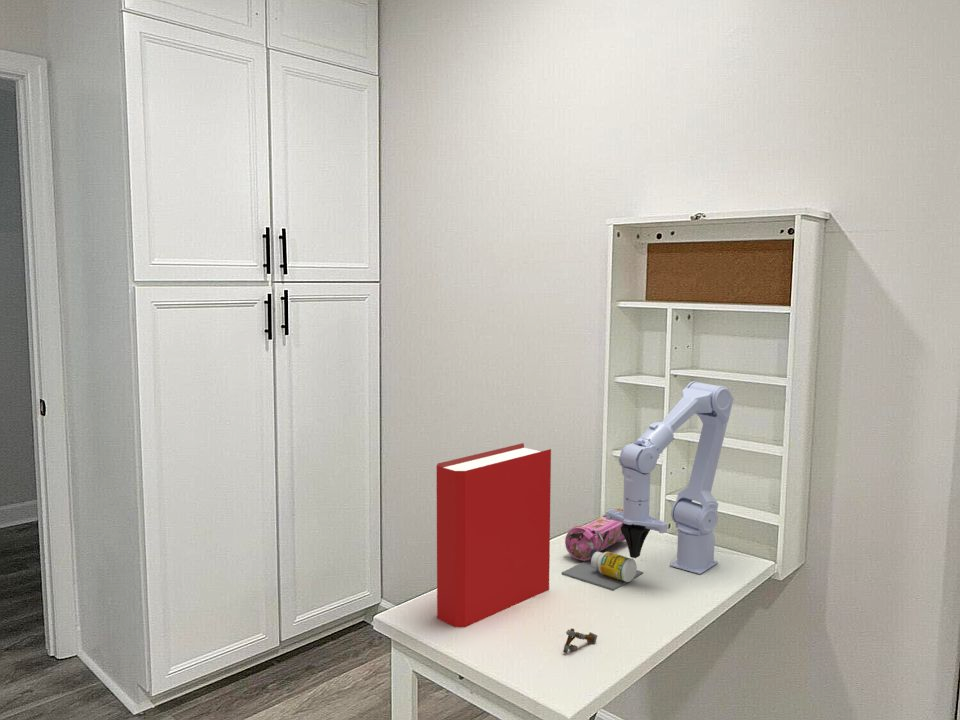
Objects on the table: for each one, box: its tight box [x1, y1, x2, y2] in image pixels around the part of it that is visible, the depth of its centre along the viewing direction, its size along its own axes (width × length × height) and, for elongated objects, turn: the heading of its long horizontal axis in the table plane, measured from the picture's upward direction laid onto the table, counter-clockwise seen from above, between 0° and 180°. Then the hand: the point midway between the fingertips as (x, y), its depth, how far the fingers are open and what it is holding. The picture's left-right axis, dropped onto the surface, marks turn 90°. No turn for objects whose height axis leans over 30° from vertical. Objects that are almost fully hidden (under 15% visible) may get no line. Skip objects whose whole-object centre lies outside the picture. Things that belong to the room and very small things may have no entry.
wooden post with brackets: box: [562, 628, 599, 654], centre depth 150 cm, size 2×8×4 cm, turn 130°
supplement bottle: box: [591, 551, 638, 583], centre depth 183 cm, size 5×5×10 cm
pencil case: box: [564, 507, 626, 562], centre depth 200 cm, size 21×9×9 cm, turn 142°
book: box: [436, 442, 552, 628], centre depth 168 cm, size 27×8×32 cm, turn 135°
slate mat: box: [561, 558, 644, 591], centre depth 186 cm, size 13×14×1 cm
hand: (634, 556), depth 179 cm, fingers closed
